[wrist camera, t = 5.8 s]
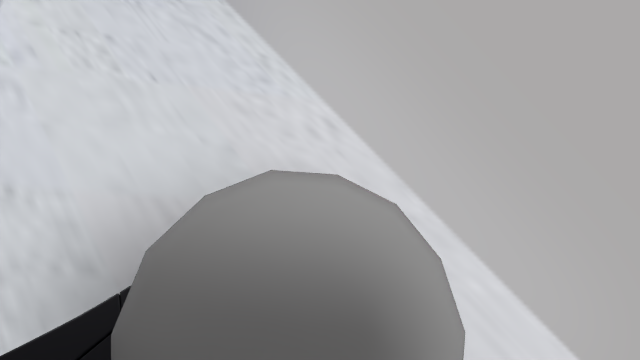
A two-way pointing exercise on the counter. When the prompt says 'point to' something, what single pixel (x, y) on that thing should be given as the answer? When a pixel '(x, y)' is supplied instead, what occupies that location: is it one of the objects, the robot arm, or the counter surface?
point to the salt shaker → (290, 280)
